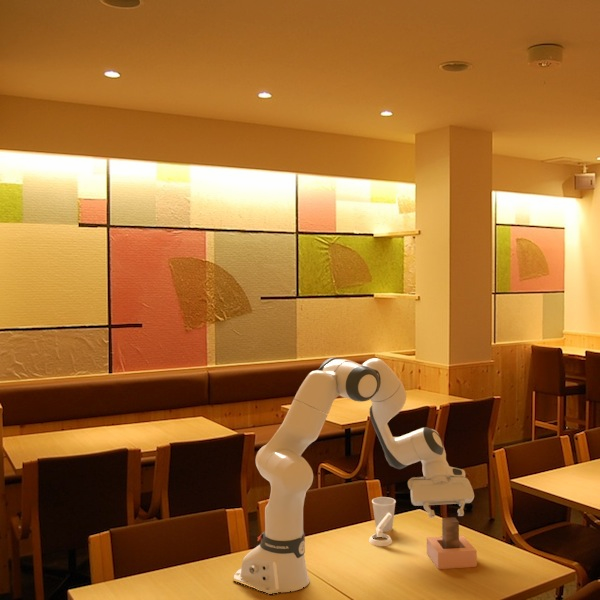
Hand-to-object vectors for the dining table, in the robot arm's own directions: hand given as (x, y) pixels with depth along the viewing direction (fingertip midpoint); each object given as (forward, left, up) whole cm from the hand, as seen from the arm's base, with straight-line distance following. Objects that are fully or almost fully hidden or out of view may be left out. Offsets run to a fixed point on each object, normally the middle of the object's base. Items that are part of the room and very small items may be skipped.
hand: (446, 516), depth 221 cm
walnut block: (+2, -3, -12) cm, 12 cm away
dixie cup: (-26, +12, -13) cm, 31 cm away
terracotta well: (+2, -3, -12) cm, 13 cm away
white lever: (-23, +1, -13) cm, 26 cm away
